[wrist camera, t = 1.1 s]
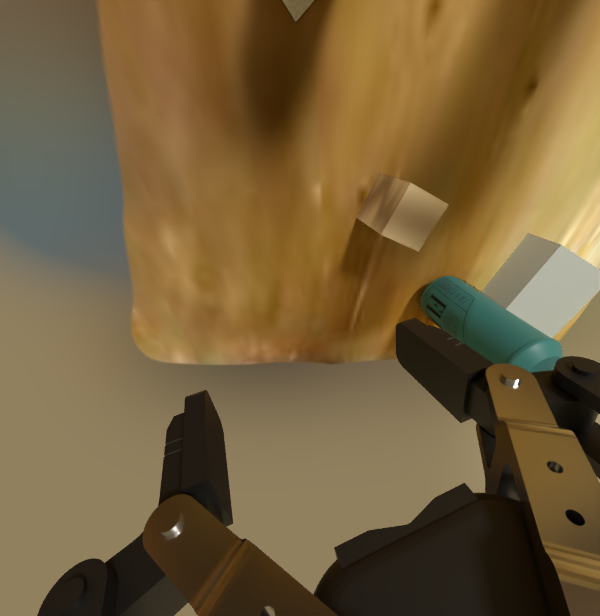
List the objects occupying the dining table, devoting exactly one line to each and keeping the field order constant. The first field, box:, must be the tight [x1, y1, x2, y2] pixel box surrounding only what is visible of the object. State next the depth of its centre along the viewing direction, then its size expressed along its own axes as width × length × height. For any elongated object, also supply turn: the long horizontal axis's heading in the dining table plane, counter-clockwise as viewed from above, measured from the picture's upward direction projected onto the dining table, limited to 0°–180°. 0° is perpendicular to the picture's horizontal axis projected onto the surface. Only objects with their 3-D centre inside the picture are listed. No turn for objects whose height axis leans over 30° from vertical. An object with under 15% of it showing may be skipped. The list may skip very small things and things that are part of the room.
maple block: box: [357, 173, 449, 252], centre depth 30 cm, size 5×5×6 cm
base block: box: [481, 233, 600, 338], centre depth 43 cm, size 14×14×5 cm
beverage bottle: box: [420, 276, 562, 373], centre depth 33 cm, size 6×7×20 cm
